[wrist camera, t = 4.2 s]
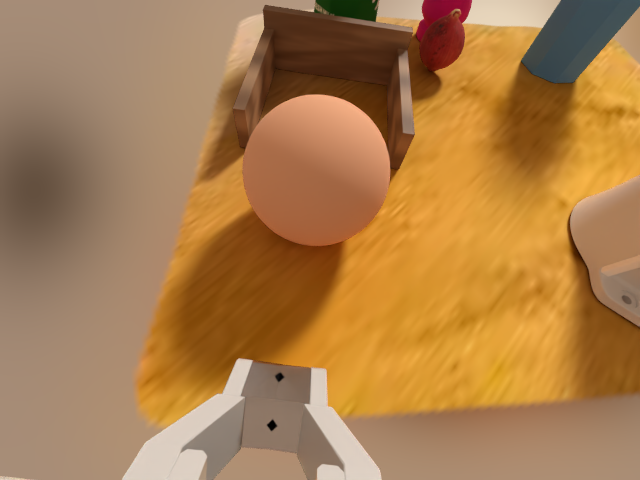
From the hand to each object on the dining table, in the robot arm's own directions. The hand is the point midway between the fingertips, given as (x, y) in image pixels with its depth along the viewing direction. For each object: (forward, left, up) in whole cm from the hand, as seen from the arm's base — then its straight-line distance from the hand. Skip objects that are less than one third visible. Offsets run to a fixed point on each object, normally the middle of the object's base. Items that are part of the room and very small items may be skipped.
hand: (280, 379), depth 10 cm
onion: (+22, -43, -14) cm, 50 cm away
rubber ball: (+11, -12, -8) cm, 18 cm away
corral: (+23, -23, -14) cm, 35 cm away
